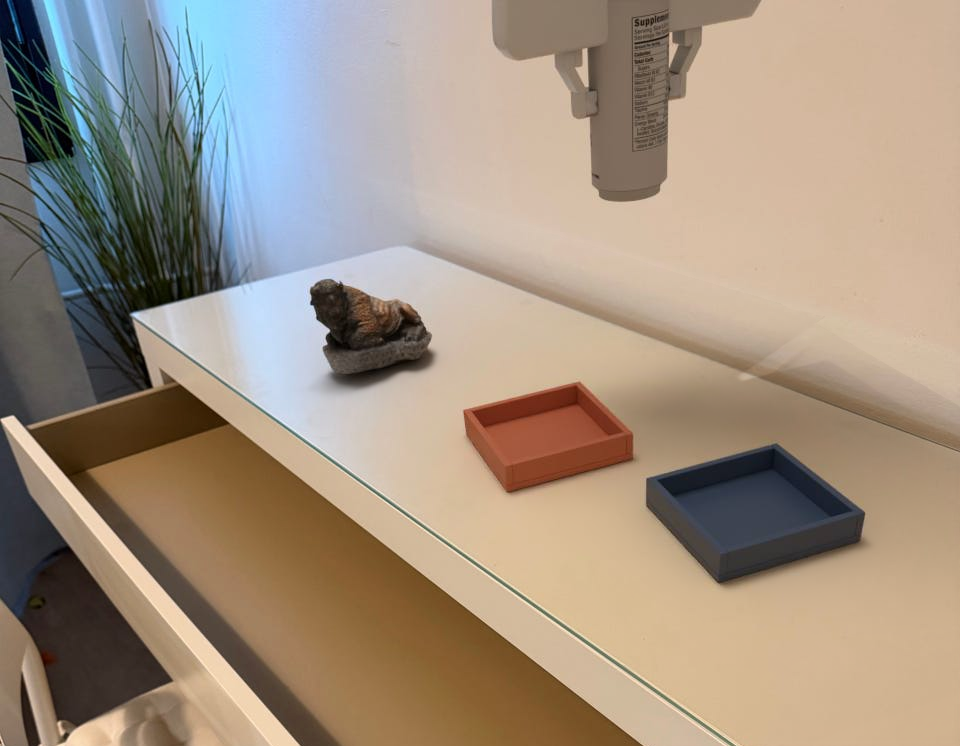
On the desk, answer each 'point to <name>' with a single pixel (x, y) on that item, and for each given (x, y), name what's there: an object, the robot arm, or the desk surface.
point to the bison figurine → (366, 328)
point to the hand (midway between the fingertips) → (629, 107)
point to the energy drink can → (631, 101)
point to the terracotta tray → (547, 435)
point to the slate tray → (752, 511)
